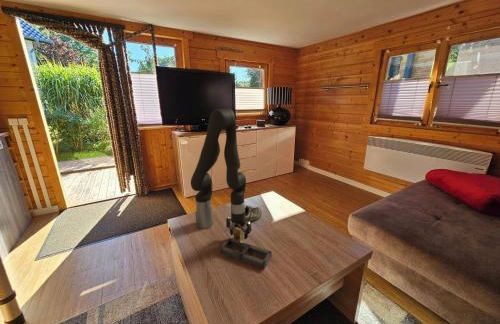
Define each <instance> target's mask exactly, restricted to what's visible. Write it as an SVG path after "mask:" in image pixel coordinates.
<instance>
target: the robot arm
mask: <svg viewBox="0 0 500 324" xmlns="http://www.w3.org/2000/svg"><path fill="white" fill-rule="evenodd" d="M223 129H224V131H225V136H226V137H225V144H224V150H223V155H224V161H225V166H226V172H225V173H226V179H225V180H226V184H227V187H229V189H231V190H232V191H231V193H230V215H229V216H227V217H226V219H225V221H226V224H225V225H226V228H227V229H229V235H230V236H234V234H233V230H234V229H235V228H236V227H238V228H241V230H242V231H243V233H244V239H243V240H247V239H248V238H249V234H250V233H251V232H252V221H251V222H250V221H249V222H246V221H245V208H246V207H245V206H246V204H245V191H246V187H247V186H246V185H247V178H246V175H245V174H244V173H243V172H241V171H239V169H240V168H241V160H240V156H239V151H238V142H237V141H238V140H237V122H236V115H235V112H234V110H233V109H231V108H227V107H226V108H218V109H217V108H216V109H214V110H212V112H211V114H210V116H209V120H208V124H207V131H206V135H205V138H204V142H203V145H202V149H201V151H200V155H199V158H198V162H197V163H196V167H195V170H194V171H193V174H192V175H191V178H190V187H191V189H192V190H193V191H195V192H197V193H196V195H195V197H194V198H195V207H196V208H195V209H196V210H195V212H194V213H195V222H196V223H195V224H196V225H197V226H198V228H199V229H209V228H211V227H212V226H213V225H214V220H213V216H214V215H213V206H212V205H213V203H212V202H213V201H212V195H213V181H212V177H211V175H210V173H209V171H210V170H211V169H212V168H213V167H214V165H216V163H217V161H218V158H219V156H220V153H221V147H220V142H219V138H220V136H221V132H222V130H223ZM245 224H246V225H245ZM243 226H244V227H243Z"/></svg>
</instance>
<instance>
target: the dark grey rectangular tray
mask: <svg viewBox="0 0 500 324" xmlns="http://www.w3.org/2000/svg"><path fill="white" fill-rule="evenodd" d="M230 246H231V247H233V248H236V249H240V250H242V251H241V252H239V251H237V250H234V249H232V248H230ZM219 252H220V254H221V255H224V256H226V257H229V258H231V259H234V260H237V261H240V262H243V263H246V264H249V265H251V266H253V267H257V268H259V269H262V270H265V269H266V267H267V266H268V264H269V262H270V260H271V259H272V253H273V252H272V251H271V250H268V249H266V248H262V247H259V246H257V245H256V246H255V245H253V244H249V243H246V242H244V241H241V242H240V241H237V240H234V238H228V239H227V240H226V241H225V242H224V243H223V244H222V246H220V247H219ZM249 253H251V254H254V255H257V256H260V257H263V258H264V259H261V258H257V257H254V256H253V255H252V256H251V255H249Z"/></svg>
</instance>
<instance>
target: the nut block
mask: <svg viewBox="0 0 500 324" xmlns="http://www.w3.org/2000/svg"><path fill="white" fill-rule="evenodd" d="M233 239H234V240H237V241H240V242H243V240H245V239H244V232H243V231H242V230H241V228H238V227H234V230H233Z"/></svg>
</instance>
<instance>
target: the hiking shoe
mask: <svg viewBox="0 0 500 324" xmlns="http://www.w3.org/2000/svg"><path fill="white" fill-rule="evenodd" d="M262 212H263V211H262V209H261V208H260V207H259V206H256V207H253V206H251V205H250V206H249V205H245V221H246V222H249V221H250V222H251V223H252V222H256V221H258V220H259V219H261V217H262ZM245 225H246V224H245ZM243 228H244V226H243Z"/></svg>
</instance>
